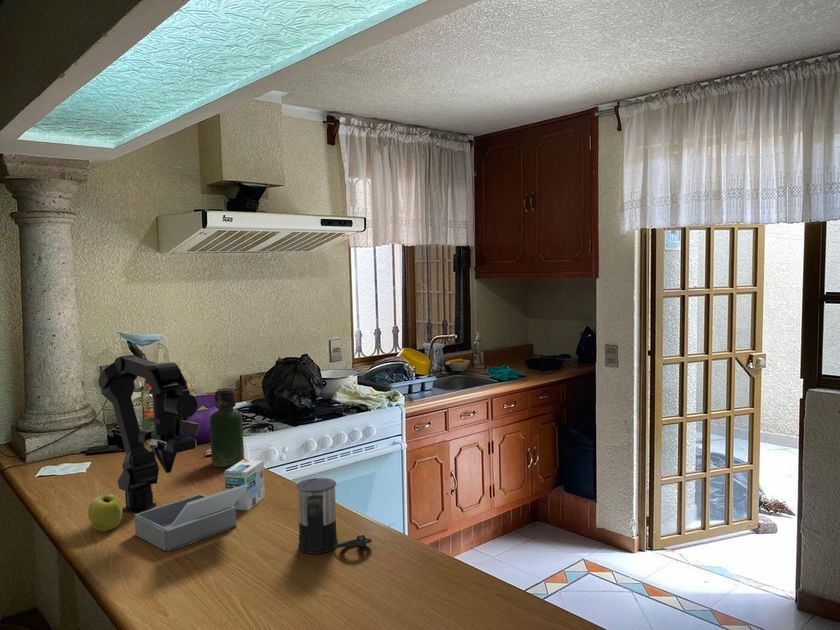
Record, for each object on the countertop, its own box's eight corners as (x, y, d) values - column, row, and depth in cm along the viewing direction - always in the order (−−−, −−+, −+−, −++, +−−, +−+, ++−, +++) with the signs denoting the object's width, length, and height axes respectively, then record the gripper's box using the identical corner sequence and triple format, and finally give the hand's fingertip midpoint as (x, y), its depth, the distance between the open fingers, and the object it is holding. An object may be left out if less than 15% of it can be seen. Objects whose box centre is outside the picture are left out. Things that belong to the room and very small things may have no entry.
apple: (81, 534, 156) (79, 494, 155) (107, 521, 163) (105, 484, 163) (105, 538, 153) (103, 498, 153) (131, 525, 161) (129, 487, 160)
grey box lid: (171, 524, 145) (187, 502, 140) (231, 504, 158) (248, 483, 152) (172, 526, 145) (188, 505, 140) (232, 506, 157) (249, 485, 152)
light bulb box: (248, 511, 169) (246, 472, 168) (225, 509, 170) (223, 470, 170) (265, 497, 179) (264, 460, 179) (243, 495, 181) (242, 459, 180)
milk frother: (294, 541, 150) (292, 480, 149) (358, 529, 156) (357, 471, 155) (307, 567, 137) (305, 500, 136) (376, 553, 143) (375, 489, 141)
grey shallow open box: (133, 534, 155) (132, 514, 155) (202, 511, 170) (201, 493, 169) (167, 552, 145) (166, 531, 144) (237, 526, 159) (236, 507, 159)
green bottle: (215, 459, 217) (212, 387, 215) (246, 457, 218) (243, 386, 216) (208, 468, 206) (205, 393, 204) (241, 467, 207) (238, 392, 206)
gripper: (214, 411, 161) (216, 471, 162) (176, 402, 173) (178, 458, 174) (173, 420, 152) (175, 483, 153) (136, 410, 164) (138, 468, 165)
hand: (168, 472), depth 162 cm, fingers closed
